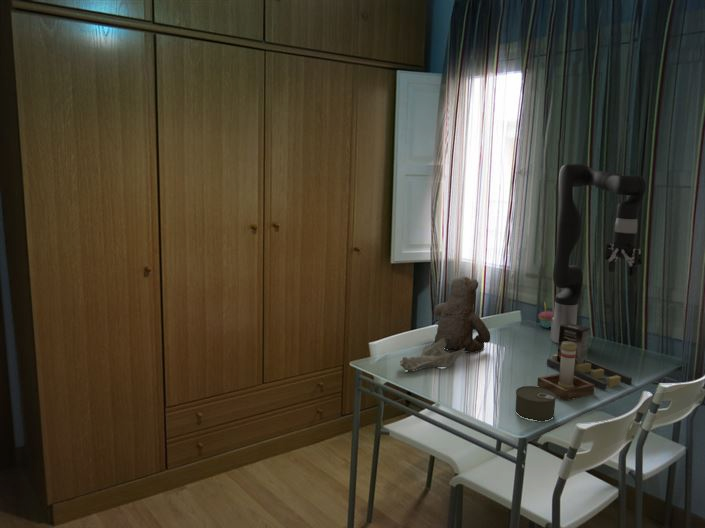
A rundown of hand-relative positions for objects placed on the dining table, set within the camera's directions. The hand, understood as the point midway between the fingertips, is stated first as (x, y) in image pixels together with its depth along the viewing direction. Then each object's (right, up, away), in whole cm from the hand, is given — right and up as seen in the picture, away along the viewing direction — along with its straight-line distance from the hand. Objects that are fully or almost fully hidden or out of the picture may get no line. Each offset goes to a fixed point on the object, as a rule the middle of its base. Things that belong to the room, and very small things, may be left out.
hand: (621, 274), depth 224 cm
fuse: (-27, -39, -17) cm, 50 cm away
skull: (-71, -35, +4) cm, 79 cm away
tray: (-27, -40, -17) cm, 51 cm away
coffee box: (-17, -36, +6) cm, 40 cm away
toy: (-55, -31, +28) cm, 69 cm away
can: (-43, -43, -35) cm, 70 cm away
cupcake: (-9, -26, +58) cm, 64 cm away
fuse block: (-13, -37, -1) cm, 39 cm away
